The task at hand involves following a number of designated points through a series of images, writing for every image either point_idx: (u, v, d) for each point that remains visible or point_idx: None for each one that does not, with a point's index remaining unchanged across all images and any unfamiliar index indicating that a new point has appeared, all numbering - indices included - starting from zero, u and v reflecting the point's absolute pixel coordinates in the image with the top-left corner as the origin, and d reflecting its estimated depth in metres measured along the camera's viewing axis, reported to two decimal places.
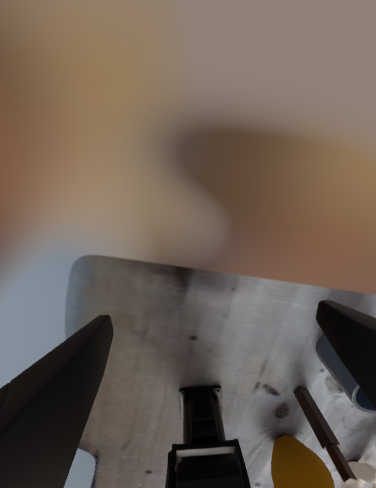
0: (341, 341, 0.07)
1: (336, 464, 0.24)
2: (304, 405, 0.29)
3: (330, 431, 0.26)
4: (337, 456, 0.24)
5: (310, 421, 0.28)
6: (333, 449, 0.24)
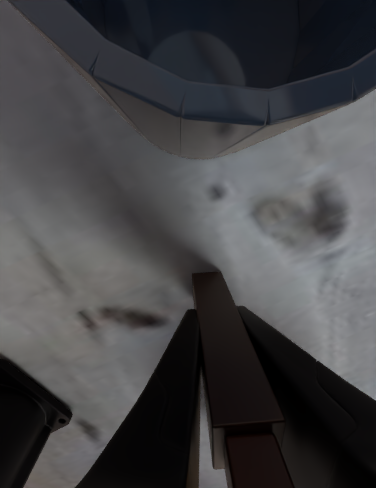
0: None
1: None
2: None
3: (246, 366, 0.05)
4: None
5: None
6: (230, 470, 0.04)
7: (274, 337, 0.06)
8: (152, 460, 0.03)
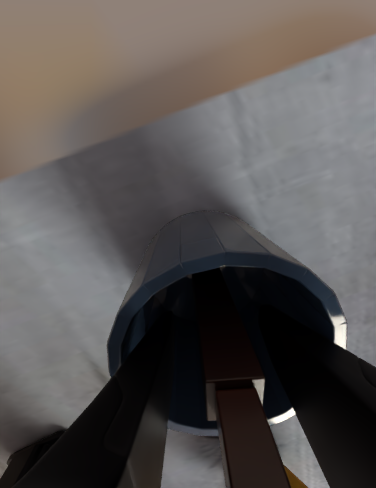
0: (272, 346, 0.07)
1: None
2: None
3: (236, 339, 0.06)
4: (225, 447, 0.04)
5: None
6: (219, 413, 0.05)
7: (309, 335, 0.06)
8: (89, 465, 0.03)
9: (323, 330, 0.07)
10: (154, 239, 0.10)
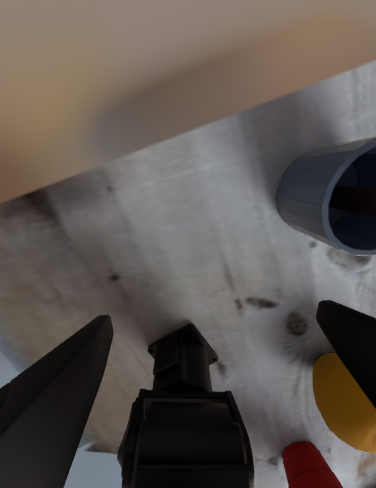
0: (341, 341, 0.07)
1: None
2: None
3: None
4: None
5: (345, 206, 0.15)
6: None
7: None
8: None
9: None
10: (298, 162, 0.17)
